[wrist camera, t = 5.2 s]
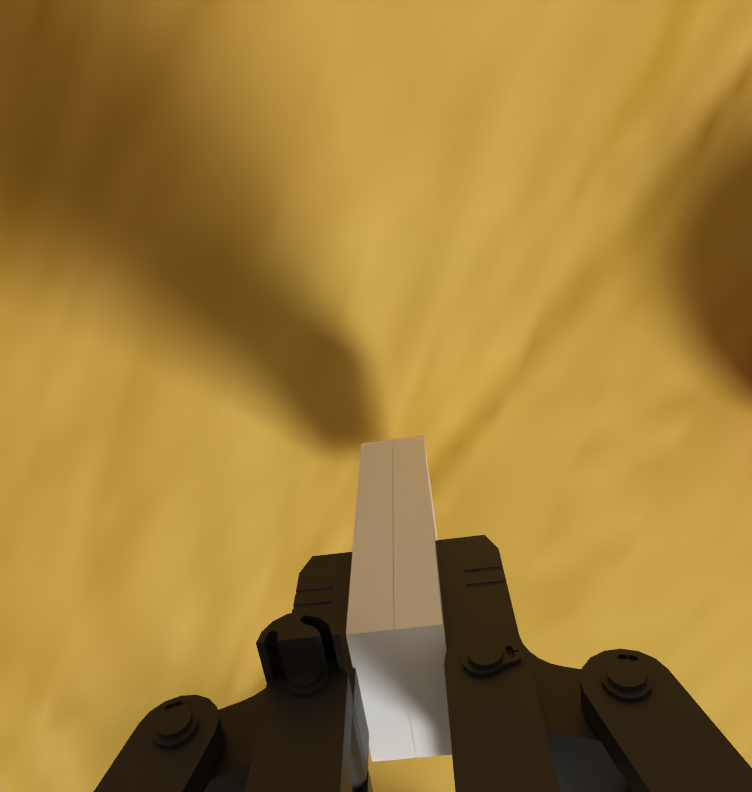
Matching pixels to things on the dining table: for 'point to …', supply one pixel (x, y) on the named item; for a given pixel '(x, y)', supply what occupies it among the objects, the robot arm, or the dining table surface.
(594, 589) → the dining table surface
